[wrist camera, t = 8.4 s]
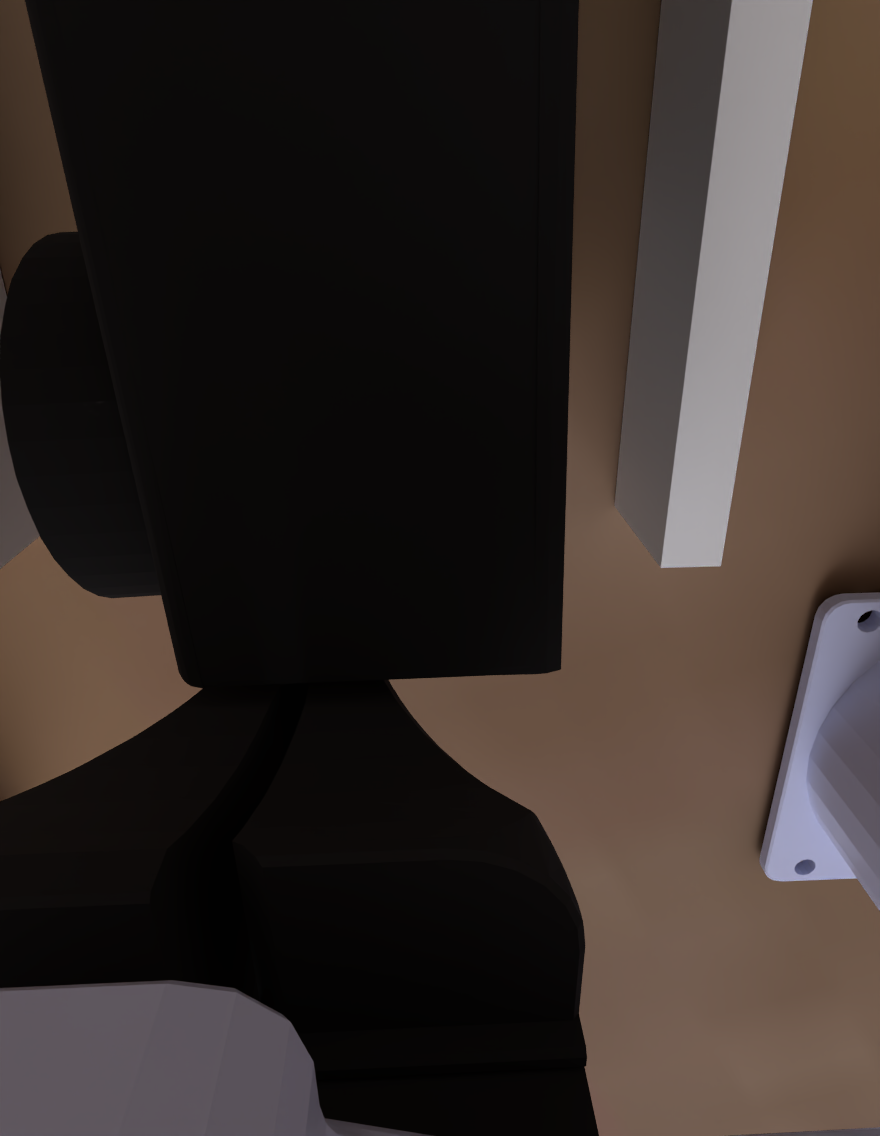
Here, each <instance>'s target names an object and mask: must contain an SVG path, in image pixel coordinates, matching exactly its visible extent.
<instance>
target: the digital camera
mask: <svg viewBox="0 0 880 1136" xmlns="http://www.w3.org/2000/svg"><path fill="white" fill-rule="evenodd" d="M25 2H26V7H27V11H28V16H29V20H30V24H31V29H32V33H33V37H34V42H35V46H36V50H37V55H38V59H39V64H40V68H41V72H42V77H43V81H44V85H45V90H46V94H47V98H48V103H49V107H50V112H51V116H52V120H53V125H54V129H55V133H56V138H57V142H58V146H59V151H60V155H61V160H62V164H63V168H64V173H65V177H66V181H67V186H68V190H69V194H70V199H71V203H72V208H73V212H74V216H75V221H76V225H77V229H78V232H60V233H55V234H50V235H47V236H45V237H44V238H42V239H40V240H39V241H37V242H36V243H34V244H33V245H32V247H31V248H30V249H29V250H28V252H27V253H26V254H25V255H24V257H23V258H22V260H21V262H20V264H19V266H18V268H17V270H16V272H15V274H14V276H13V278H12V280H11V284H10V288H9V292H8V296H7V299H6V303H5V308H4V315H3V321H2V327H1V333H0V387H1V401H2V410H3V416H4V422H5V428H6V435H7V441H8V445H9V450H10V454H11V458H12V462H13V467H14V471H15V475H16V479H17V481H18V484H19V487H20V490H21V492H22V495H23V498H24V500H25V503H26V506H27V509H28V511H29V513H30V515H31V518H32V520H33V522H34V524H35V526H36V529H37V531H38V533H39V535H40V537H41V539H42V540H43V542H44V544H45V545H46V547H47V548H48V550H49V551H50V553H51V555H52V556H53V558H54V559H55V561H56V562H57V563H58V564H59V565H60V566H61V567H62V569H63V570H64V571H65V572H66V573H67V574H68V576H70V577H71V578H72V579H73V580H74V581H75V582H77V583H78V584H79V585H80V586H81V587H82V588H83V589H85V590H87V591H90V592H92V593H94V594H96V595H98V596H103V597H108V598H121V597H137V596H154V595H161V596H162V600H163V604H164V609H165V613H166V618H167V622H168V626H169V631H170V635H171V639H172V644H173V648H174V652H175V657H176V661H177V666H178V670H179V673H180V675H181V677H182V679H183V680H184V681H185V682H186V683H187V684H189V685H190V686H193V687H199V688H205V687H222V686H246V685H270V684H293V683H317V682H341V681H365V680H389V679H413V678H437V677H461V676H485V675H517V674H542V673H549V672H553V671H557V670H560V669H561V647H562V612H563V577H564V543H565V508H566V472H567V434H568V395H569V357H570V318H571V280H572V241H573V203H574V165H575V126H576V88H577V49H578V11H579V0H25Z"/></svg>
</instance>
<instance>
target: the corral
mask: <svg viewBox="0 0 880 1136" xmlns="http://www.w3.org/2000/svg"><path fill="white" fill-rule="evenodd" d="M812 2H813V0H662V1H661V11H660V22H659V33H658V44H657V54H656V65H655V76H654V87H653V97H652V108H651V119H650V129H649V140H648V151H647V162H646V172H645V183H644V194H643V205H642V215H641V226H640V237H639V247H638V258H637V269H636V280H635V290H634V301H633V312H632V323H631V333H630V344H629V355H628V365H627V376H626V387H625V398H624V408H623V419H622V430H621V441H620V451H619V462H618V473H617V483H616V494H615V505H614V506H615V507H616V509H617V510H618V511H619V513H620V514H621V515H622V517H623V518H624V519H625V521H626V522H627V523H628V525H629V526H630V527H631V529H632V530H633V531H634V533H635V534H636V535H637V537H638V538H639V539H640V541H641V542H642V543H643V545H644V546H645V547H646V549H647V550H648V551H649V553H650V554H651V555H652V557H653V558H654V559H655V561H656V562H657V563H658V565H659V566H660V567H661V568H671V567H709V566H721V561H722V555H723V549H724V543H725V537H726V531H727V525H728V518H729V512H730V506H731V500H732V494H733V488H734V482H735V475H736V469H737V463H738V457H739V451H740V445H741V439H742V432H743V426H744V420H745V414H746V408H747V402H748V396H749V389H750V383H751V377H752V371H753V365H754V359H755V353H756V346H757V340H758V334H759V328H760V322H761V316H762V310H763V303H764V297H765V291H766V285H767V279H768V273H769V267H770V260H771V254H772V248H773V242H774V236H775V230H776V223H777V217H778V211H779V205H780V199H781V193H782V187H783V180H784V174H785V168H786V162H787V156H788V150H789V144H790V137H791V131H792V125H793V119H794V113H795V107H796V101H797V94H798V88H799V82H800V76H801V70H802V64H803V58H804V51H805V45H806V39H807V33H808V27H809V21H810V15H811V8H812ZM6 299H7V295H6V291H5V287H4V283H3V279H2V275H1V270H0V333H1V327H2V321H3V315H4V308H5V303H6ZM39 536H40V535H39V533H38V531H37V529H36V526H35V524H34V522H33V520H32V518H31V515H30V513H29V511H28V509H27V506H26V503H25V500H24V498H23V495H22V492H21V490H20V487H19V484H18V481H17V479H16V475H15V471H14V467H13V462H12V458H11V454H10V450H9V445H8V441H7V435H6V428H5V422H4V416H3V410H2V401H1V387H0V569H1V568H2V567H3V566H4V565H5V564H7V563H8V562H9V561H10V560H11V559H13V558H14V557H15V556H16V555H17V554H19V553H20V552H21V551H22V550H24V549H25V548H26V547H27V546H28V545H30V544H31V543H32V542H33V541H34V540H36V539H37V538H38V537H39Z"/></svg>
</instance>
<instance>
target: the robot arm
mask: <svg viewBox="0 0 880 1136" xmlns="http://www.w3.org/2000/svg"><path fill="white" fill-rule="evenodd" d="M868 611H872V613H871V615H870V616H869V618H868V619H866V620H865V621H864V622H861V623H858V620H859V618H860V616H862V615H863V614H864V613H866V612H868ZM800 861H801V862H800ZM760 865H761V867H762V868H763V870H764V872H765V874H766V875H767V877H768V878H770V879H772V880H775V881H801V880H826V879H851V878H857V879H858V880H859V882H860V883H861V885H862V886H863V888H864V889H865V891H866V892H867V893H868V895H869V896H870V898H871V899H872V901H873V902H874V904H875V905H876V906H877V908H878V909H879V911H880V592H877V593H843V594H838V595H833V596H832V597H830V598H828V599H826V600H825V601H824V602H823V603H822V604H821V605H820V606H819V607H818V610H817V612H816V614H815V618H814V622H813V626H812V631H811V635H810V640H809V644H808V648H807V653H806V657H805V661H804V666H803V670H802V675H801V679H800V683H799V688H798V692H797V696H796V701H795V705H794V710H793V714H792V718H791V723H790V727H789V732H788V736H787V740H786V745H785V749H784V753H783V758H782V762H781V767H780V771H779V775H778V780H777V784H776V788H775V793H774V797H773V802H772V806H771V810H770V815H769V819H768V824H767V828H766V832H765V837H764V841H763V845H762V850H761V854H760ZM584 954H585V936H584V926H583V920H582V916H581V912H580V909H579V905H578V902H577V900H576V897H575V894H574V892H573V889H572V887H571V884H570V882H569V879H568V877H567V874H566V872H565V870H564V867H563V865H562V863H561V861H560V859H559V857H558V855H557V853H556V851H555V849H554V847H553V845H552V843H551V841H550V839H549V837H548V836H547V834H546V832H545V830H544V828H543V826H542V825H541V823H540V821H539V819H538V818H537V816H536V815H535V814H534V813H533V812H532V811H531V810H529V809H527V808H525V807H524V806H522V805H520V804H518V803H516V802H515V801H513V800H511V799H509V798H508V797H506V796H504V795H502V794H501V793H499V792H497V791H495V790H494V789H492V788H490V787H488V786H487V785H485V784H484V783H482V782H481V781H480V780H478V779H477V778H475V777H474V776H473V775H471V774H470V773H469V772H467V771H466V770H465V769H464V768H462V767H461V766H460V765H459V764H458V763H457V762H456V761H455V760H453V759H452V758H451V757H450V756H449V755H448V754H447V753H446V752H444V751H443V750H442V749H441V748H440V747H439V746H438V745H437V744H436V743H435V742H434V741H433V740H432V738H431V737H430V736H429V735H428V734H427V733H426V732H425V731H424V730H423V729H422V727H421V726H420V725H419V724H418V722H417V721H416V720H415V719H414V718H413V716H412V715H411V714H410V712H409V711H408V710H407V708H406V707H405V705H404V704H403V703H402V701H401V700H400V698H399V697H398V695H397V693H396V692H395V690H394V689H393V687H392V686H391V684H390V682H389V680H365V681H341V682H317V683H293V684H270V685H246V686H222V687H205V688H203V689H202V690H201V691H199V692H198V693H197V694H196V695H194V696H193V697H192V698H191V699H189V700H188V701H187V702H185V703H184V704H183V705H181V706H180V707H179V708H177V709H176V710H174V711H173V712H171V713H170V714H169V715H167V716H166V717H164V718H163V719H161V720H160V721H158V722H156V723H155V724H153V725H152V726H150V727H149V728H147V729H146V730H144V731H143V732H141V733H139V734H138V735H136V736H134V737H133V738H131V739H129V740H128V741H126V742H124V743H122V744H120V745H118V746H116V747H115V748H113V749H111V750H109V751H107V752H105V753H104V754H102V755H100V756H98V757H96V758H94V759H92V760H91V761H89V762H87V763H85V764H83V765H81V766H80V767H77V768H75V769H73V770H71V771H69V772H67V773H65V774H63V775H61V776H59V777H56V778H54V779H52V780H50V781H48V782H46V783H43V784H41V785H39V786H36V787H34V788H32V789H29V790H27V791H25V792H22V793H20V794H18V795H15V796H13V797H10V798H8V799H5V800H3V801H0V1136H599V1134H598V1129H597V1125H596V1120H595V1115H594V1110H593V1106H592V1101H591V1096H590V1091H589V1087H588V1082H587V1077H586V1073H585V1068H584V1066H586V1061H587V1054H586V1045H585V1040H584V1036H583V1031H582V1027H581V1022H580V1017H579V1005H580V994H581V984H582V974H583V964H584ZM730 1136H880V1127H879V1128H860V1129H842V1130H823V1131H805V1132H786V1133H767V1134H749V1135H730Z"/></svg>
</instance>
